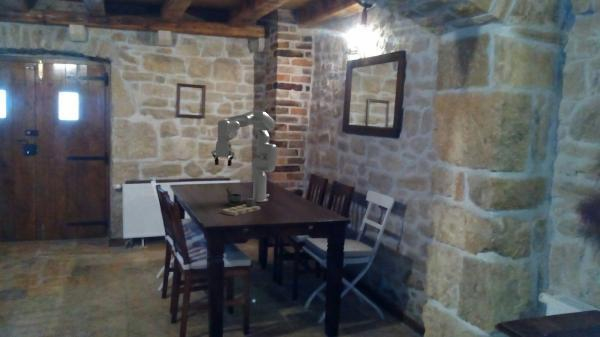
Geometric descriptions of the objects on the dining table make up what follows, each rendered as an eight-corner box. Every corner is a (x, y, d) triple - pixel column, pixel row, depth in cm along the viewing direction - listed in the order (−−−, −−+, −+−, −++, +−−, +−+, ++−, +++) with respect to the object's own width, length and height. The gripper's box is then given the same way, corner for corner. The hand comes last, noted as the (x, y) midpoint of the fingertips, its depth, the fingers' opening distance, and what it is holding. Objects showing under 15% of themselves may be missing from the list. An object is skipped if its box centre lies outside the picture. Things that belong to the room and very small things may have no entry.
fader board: (246, 207, 331) (246, 204, 331) (260, 209, 325) (260, 206, 325) (220, 213, 310) (220, 209, 309) (235, 215, 303) (235, 212, 303)
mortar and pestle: (238, 203, 344) (238, 186, 343) (243, 205, 336) (243, 188, 335) (223, 204, 339) (223, 187, 338) (227, 206, 331) (228, 189, 330)
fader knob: (249, 204, 328) (249, 198, 328) (255, 205, 326) (255, 199, 325) (245, 205, 325) (246, 198, 324) (251, 206, 322) (251, 199, 322)
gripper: (237, 139, 315) (237, 165, 317) (215, 138, 322) (215, 164, 324) (231, 140, 308) (231, 166, 310) (208, 138, 315) (208, 165, 317)
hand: (223, 165), depth 317 cm, fingers open, 9 cm apart
